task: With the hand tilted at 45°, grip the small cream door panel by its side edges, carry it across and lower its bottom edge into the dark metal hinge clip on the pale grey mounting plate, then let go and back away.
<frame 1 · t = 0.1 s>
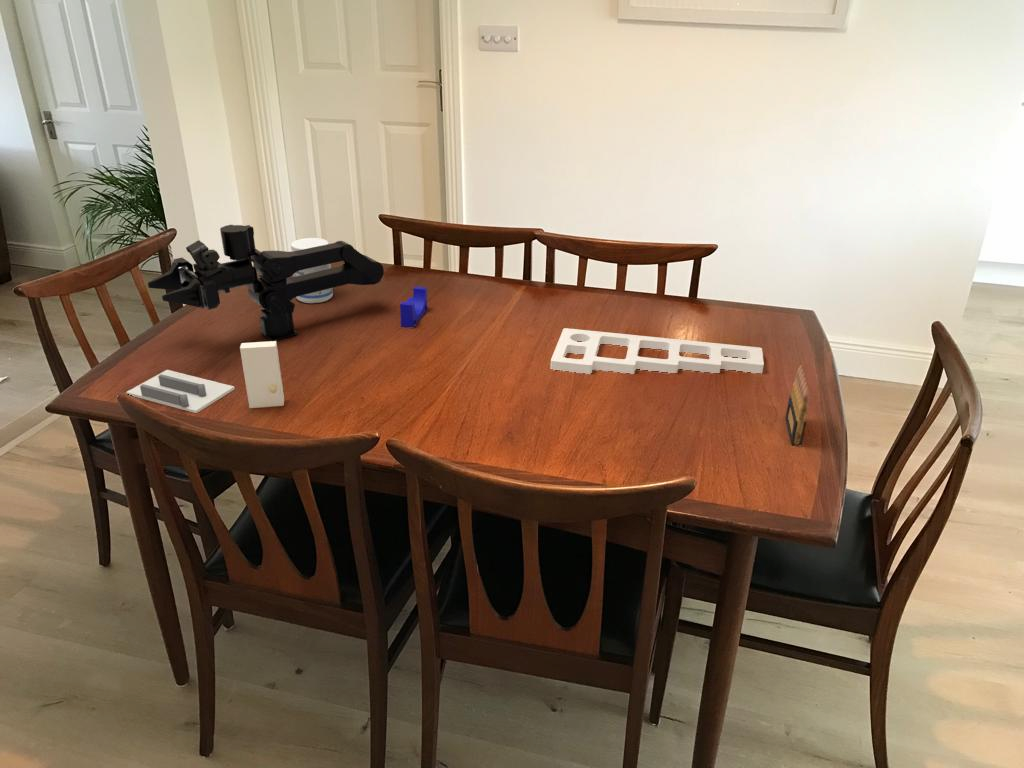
hand: (155, 291, 169), 17 cm above the table, tool horizontal, fingers open, 9 cm apart
ammunition clip: (792, 432, 155), on the table
cable clip: (411, 318, 201), on the table
holder: (656, 366, 180), on the table
door panel: (267, 404, 162), on the table
hinge clip: (172, 397, 164), on the table
supplement tub: (315, 298, 212), on the table
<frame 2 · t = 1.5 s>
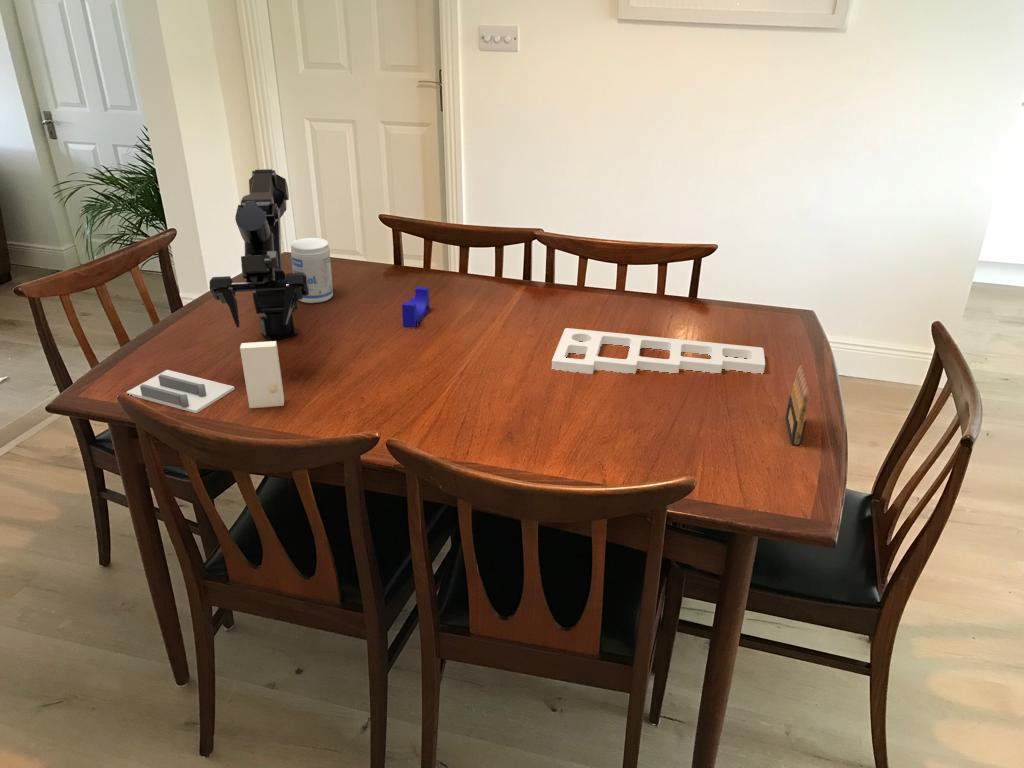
hand: (261, 325, 162), 13 cm above the table, tool tilted 45°, fingers open, 9 cm apart
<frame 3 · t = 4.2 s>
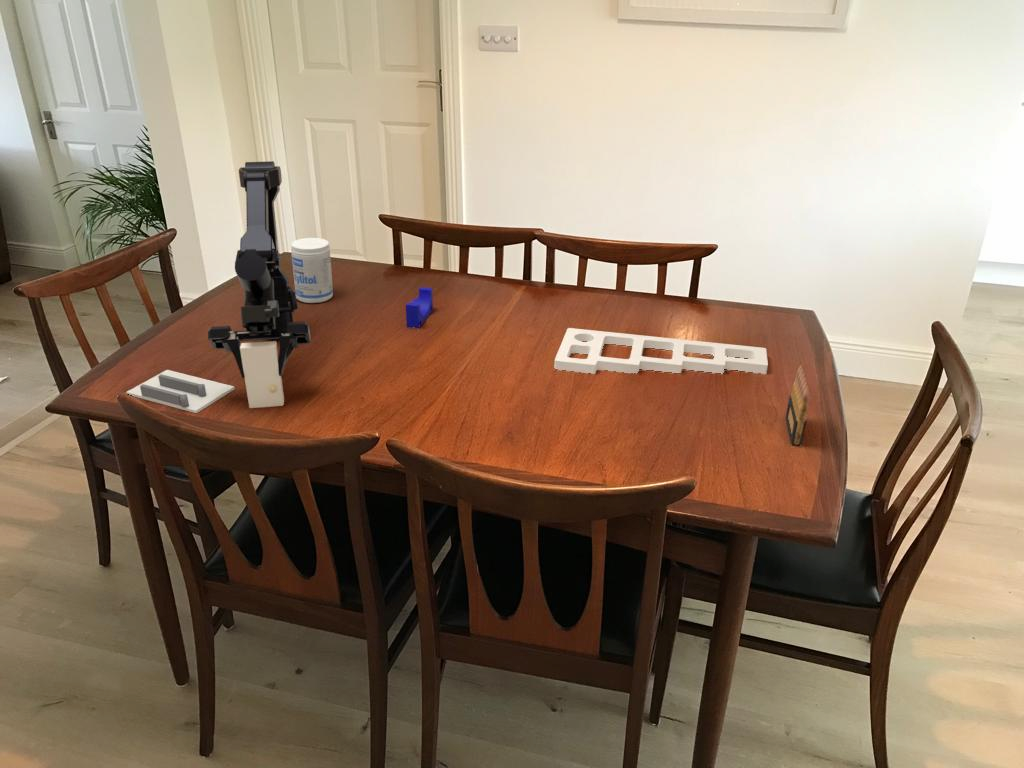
hand: (261, 376, 157), 7 cm above the table, tool tilted 45°, fingers closed on door panel, 6 cm apart
door panel: (267, 404, 162), on the table, touching gripper
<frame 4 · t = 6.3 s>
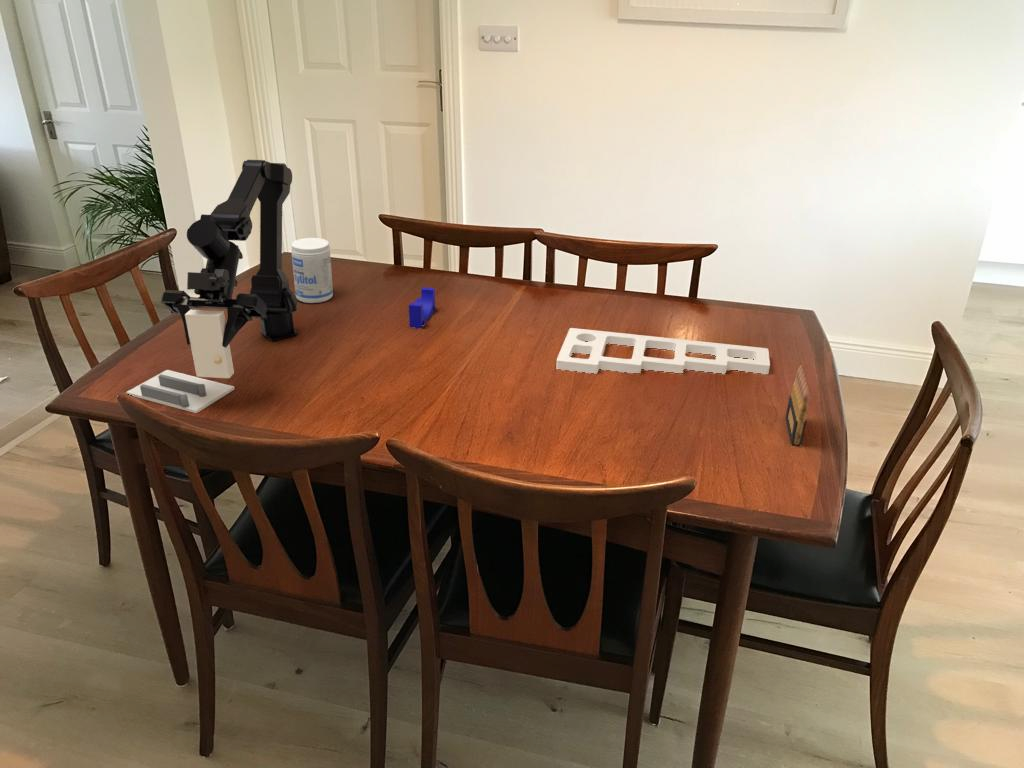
hand: (206, 345, 154), 13 cm above the table, tool tilted 45°, fingers closed on door panel, 6 cm apart
door panel: (215, 374, 158), point 7 cm above the table, touching gripper
when the fingers open (9 cm above the table, at t = 8.7 s): door panel drops 1 cm, resting on hinge clip.
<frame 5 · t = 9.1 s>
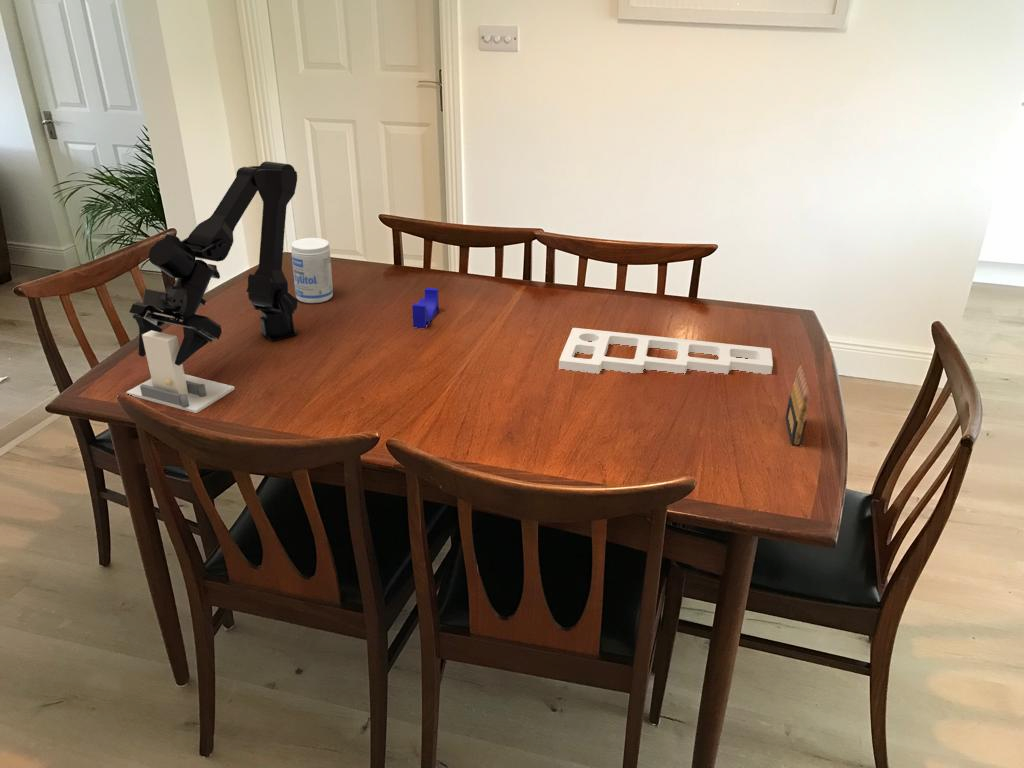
hand: (158, 360, 158), 9 cm above the table, tool tilted 45°, fingers open, 9 cm apart
door panel: (171, 394, 163), point 1 cm above the table, touching hinge clip
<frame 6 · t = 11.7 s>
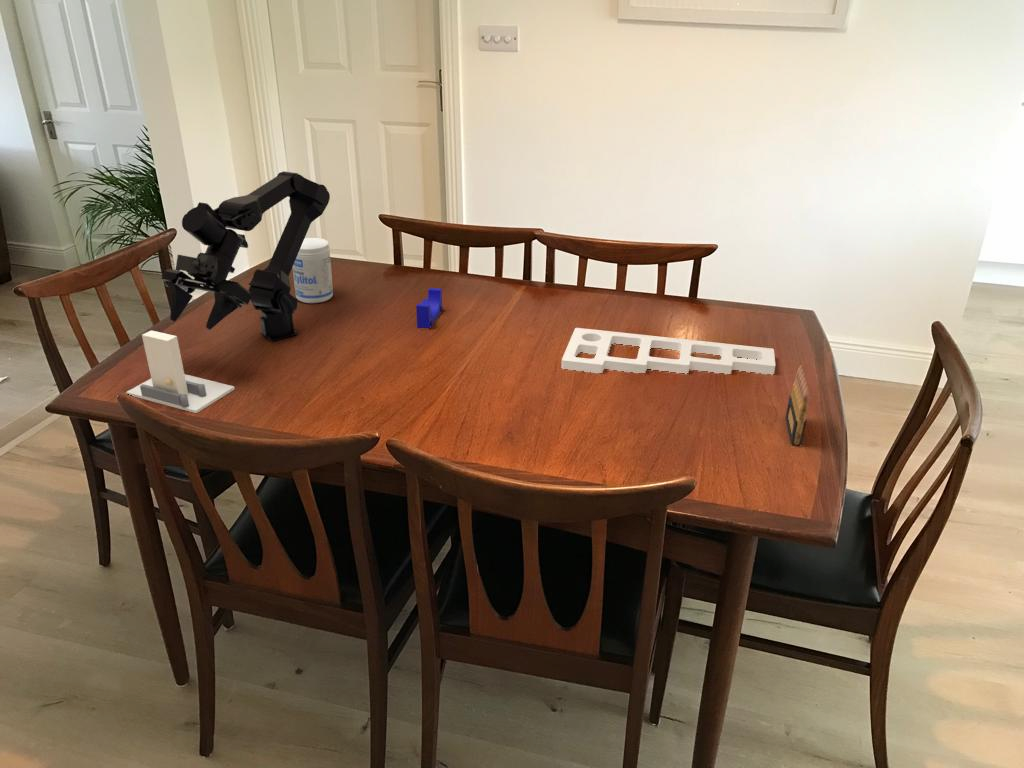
hand: (190, 324, 164), 13 cm above the table, tool tilted 45°, fingers open, 9 cm apart
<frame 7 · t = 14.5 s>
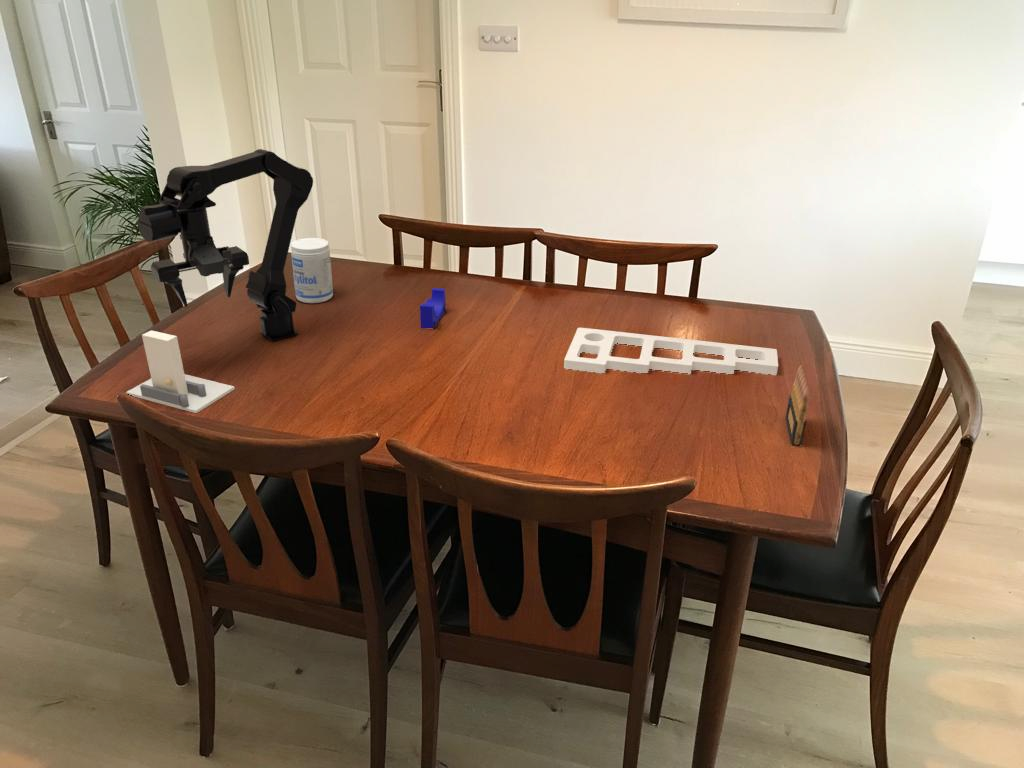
hand: (207, 301, 174), 13 cm above the table, tool pointing down, fingers open, 9 cm apart
at the end: door panel 0.0 cm off-centre on the hinge clip, point 0.6 cm above the hinge clip's base; door panel tilted 0°; the gripper is holding nothing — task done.
